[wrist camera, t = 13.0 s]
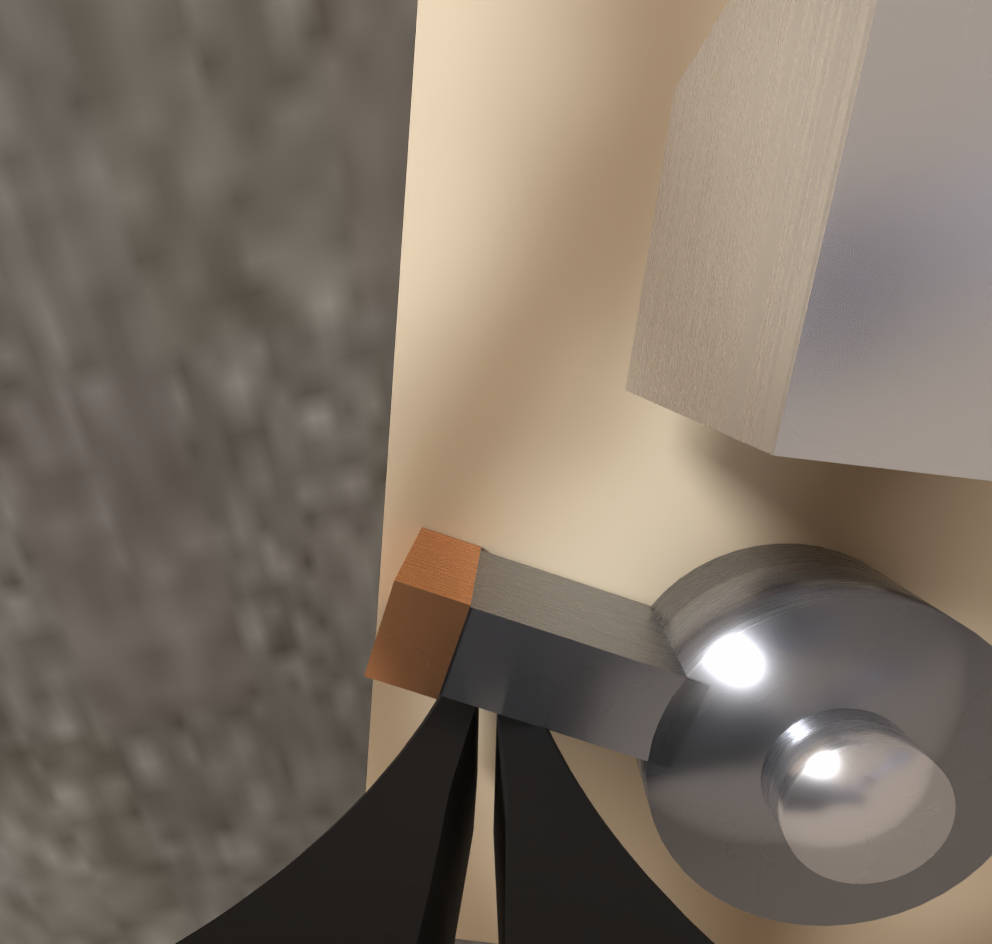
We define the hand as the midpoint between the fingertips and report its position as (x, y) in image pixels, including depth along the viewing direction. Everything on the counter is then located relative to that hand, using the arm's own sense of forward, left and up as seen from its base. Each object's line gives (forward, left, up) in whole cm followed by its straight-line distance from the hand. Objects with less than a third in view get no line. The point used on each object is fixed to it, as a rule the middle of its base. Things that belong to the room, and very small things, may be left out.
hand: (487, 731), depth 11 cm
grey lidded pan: (-3, -2, -1) cm, 4 cm away
